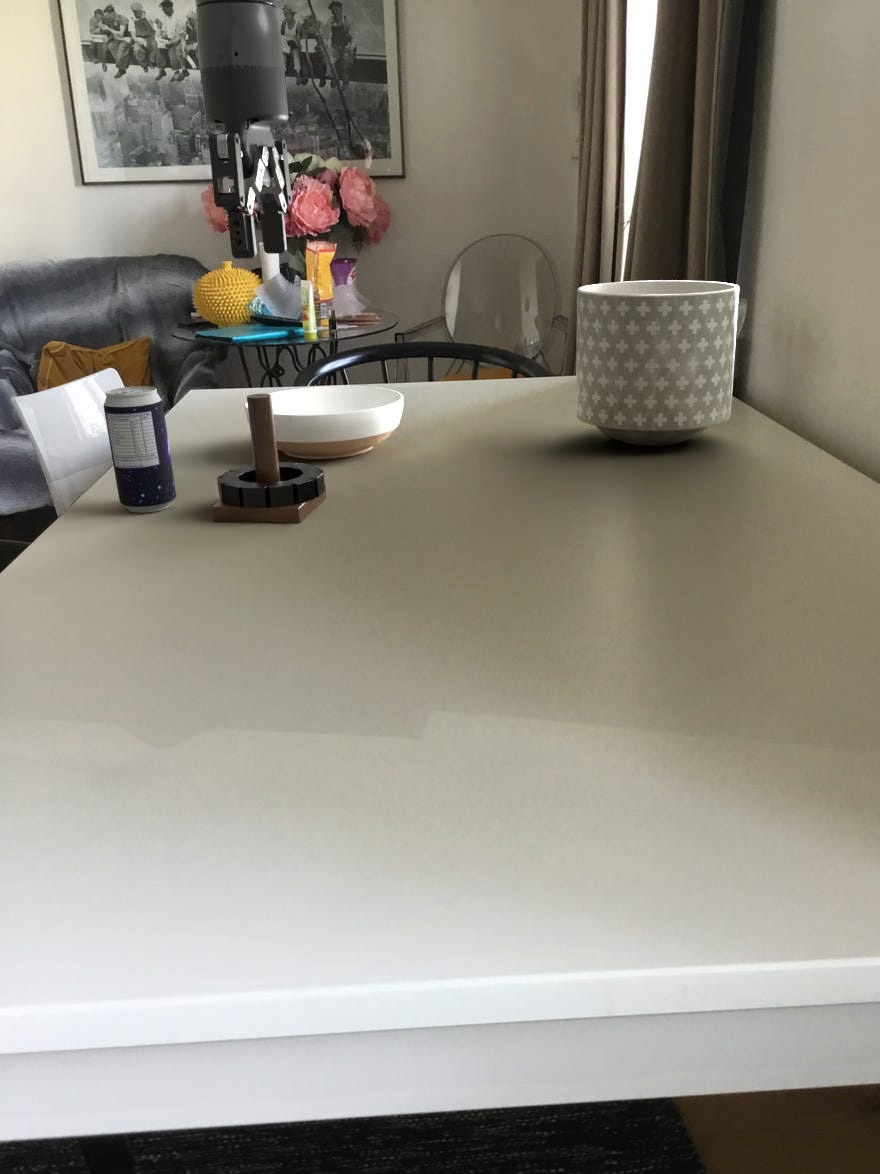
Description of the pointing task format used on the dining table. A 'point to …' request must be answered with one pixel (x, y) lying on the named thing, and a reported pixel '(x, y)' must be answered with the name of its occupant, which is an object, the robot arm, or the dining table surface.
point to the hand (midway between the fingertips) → (261, 255)
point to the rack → (264, 471)
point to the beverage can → (140, 448)
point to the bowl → (333, 420)
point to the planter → (655, 358)
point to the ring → (271, 486)
